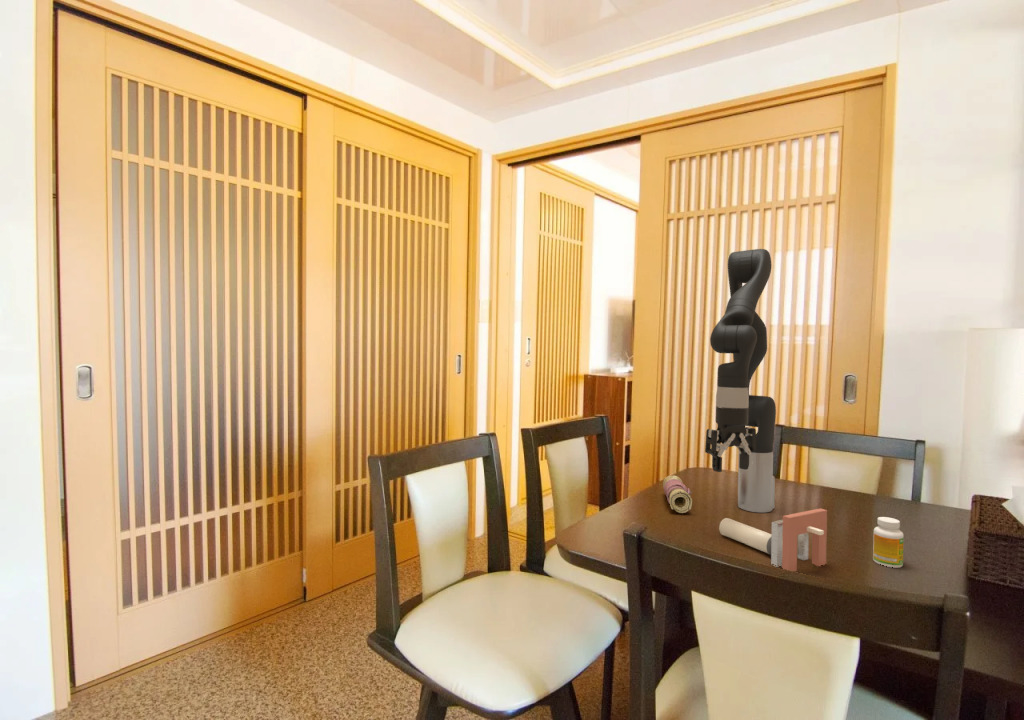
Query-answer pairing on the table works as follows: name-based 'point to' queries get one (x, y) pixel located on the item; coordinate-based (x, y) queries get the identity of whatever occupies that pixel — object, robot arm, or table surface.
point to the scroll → (677, 494)
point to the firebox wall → (800, 525)
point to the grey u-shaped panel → (777, 543)
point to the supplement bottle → (888, 543)
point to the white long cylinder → (746, 535)
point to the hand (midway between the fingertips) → (730, 470)
